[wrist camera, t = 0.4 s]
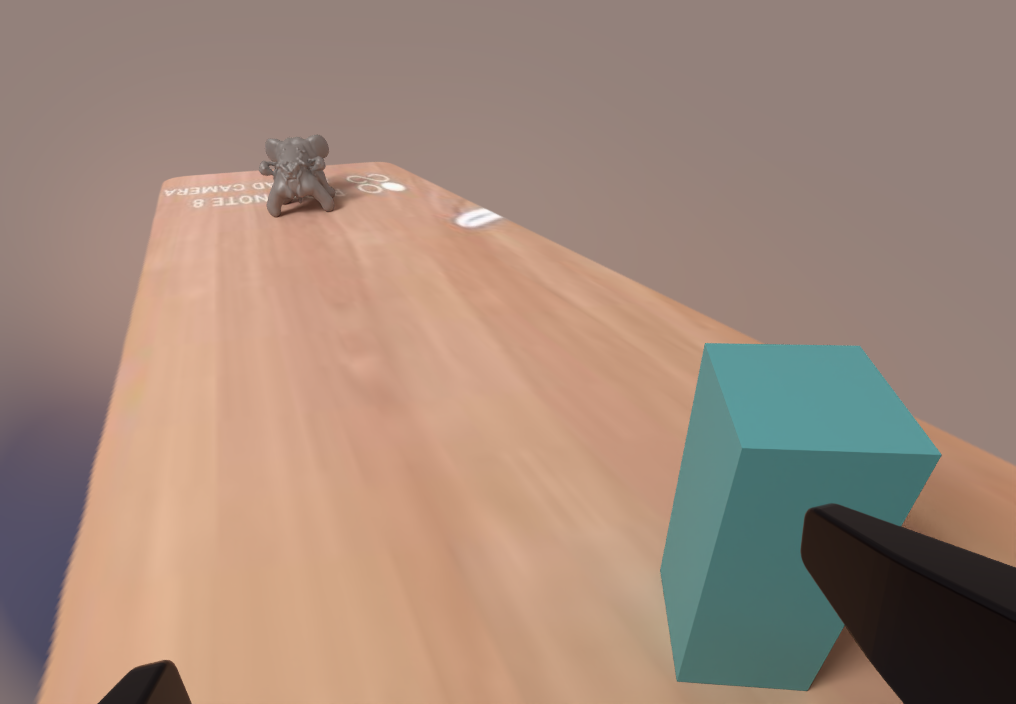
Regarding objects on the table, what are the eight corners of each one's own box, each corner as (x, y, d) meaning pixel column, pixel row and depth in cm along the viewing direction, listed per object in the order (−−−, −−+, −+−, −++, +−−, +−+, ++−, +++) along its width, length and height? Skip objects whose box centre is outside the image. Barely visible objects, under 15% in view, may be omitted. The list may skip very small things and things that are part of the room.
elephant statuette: (274, 227, 65) (256, 161, 60) (256, 193, 73) (239, 132, 69) (352, 211, 69) (341, 148, 64) (327, 180, 77) (315, 122, 72)
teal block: (807, 690, 22) (941, 454, 14) (677, 681, 22) (742, 448, 15) (769, 576, 26) (859, 345, 19) (660, 570, 26) (705, 343, 19)
